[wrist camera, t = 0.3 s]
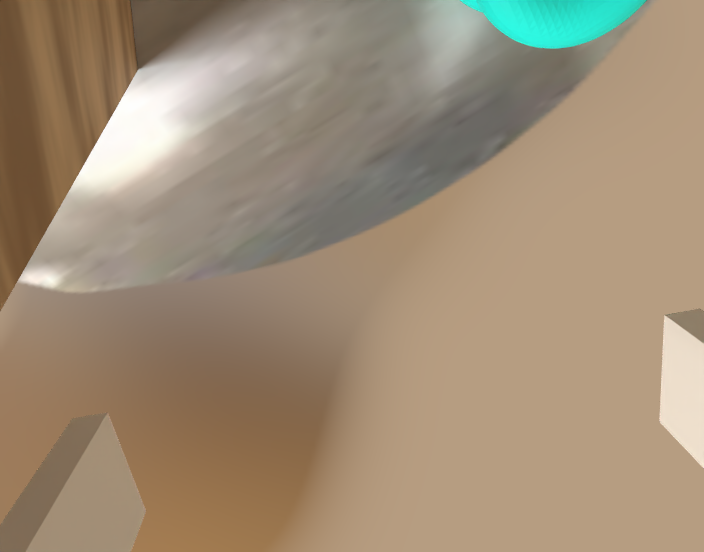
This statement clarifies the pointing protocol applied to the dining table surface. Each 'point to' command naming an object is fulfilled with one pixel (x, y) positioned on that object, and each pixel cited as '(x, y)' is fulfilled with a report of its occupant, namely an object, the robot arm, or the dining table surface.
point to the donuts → (555, 19)
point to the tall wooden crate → (53, 109)
